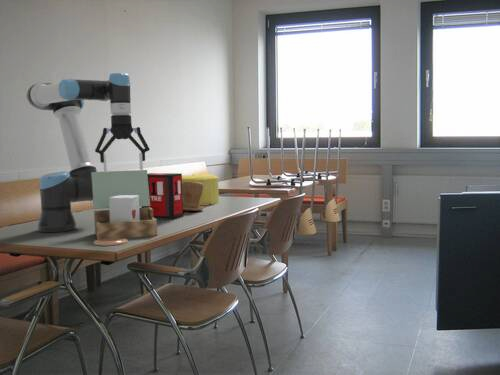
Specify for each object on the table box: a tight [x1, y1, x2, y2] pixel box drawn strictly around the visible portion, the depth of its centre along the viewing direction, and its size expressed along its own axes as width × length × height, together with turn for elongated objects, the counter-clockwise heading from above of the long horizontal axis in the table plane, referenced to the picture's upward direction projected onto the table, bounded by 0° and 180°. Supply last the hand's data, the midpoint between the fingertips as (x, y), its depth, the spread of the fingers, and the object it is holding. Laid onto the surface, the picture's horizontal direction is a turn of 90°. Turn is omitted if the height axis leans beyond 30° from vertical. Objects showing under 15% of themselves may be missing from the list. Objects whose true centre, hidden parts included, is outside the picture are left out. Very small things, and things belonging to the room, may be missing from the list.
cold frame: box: [93, 207, 158, 240], centre depth 226 cm, size 22×15×9 cm
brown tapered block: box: [182, 181, 204, 212], centre depth 288 cm, size 15×12×15 cm
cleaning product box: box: [140, 172, 184, 220], centre depth 267 cm, size 16×9×20 cm, turn 69°
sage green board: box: [91, 169, 150, 210], centre depth 234 cm, size 22×15×1 cm
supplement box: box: [108, 195, 140, 223], centre depth 225 cm, size 9×9×15 cm
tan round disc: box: [93, 238, 129, 247], centre depth 210 cm, size 12×12×1 cm
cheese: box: [182, 173, 220, 206], centre depth 319 cm, size 26×26×15 cm
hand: (123, 170), depth 224 cm, fingers open, 13 cm apart
